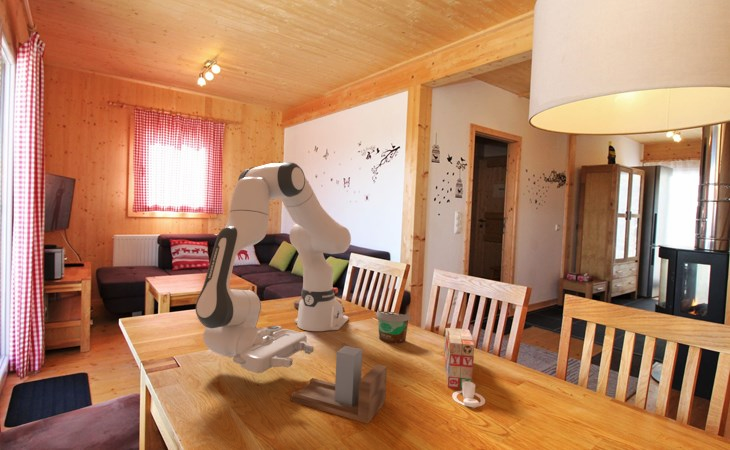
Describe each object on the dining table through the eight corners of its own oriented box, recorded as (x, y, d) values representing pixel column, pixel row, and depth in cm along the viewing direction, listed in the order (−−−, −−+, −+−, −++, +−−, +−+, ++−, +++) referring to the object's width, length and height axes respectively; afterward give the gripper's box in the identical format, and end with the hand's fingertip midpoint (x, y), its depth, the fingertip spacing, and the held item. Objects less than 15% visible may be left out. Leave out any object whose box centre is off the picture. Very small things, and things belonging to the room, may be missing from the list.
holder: (313, 384, 103) (314, 350, 102) (384, 403, 95) (386, 366, 94) (290, 401, 94) (292, 364, 93) (368, 423, 86) (369, 383, 85)
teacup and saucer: (478, 413, 93) (479, 396, 92) (446, 403, 97) (447, 386, 97) (488, 398, 100) (489, 383, 100) (458, 389, 104) (459, 374, 104)
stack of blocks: (443, 356, 125) (445, 318, 125) (463, 358, 124) (466, 320, 124) (447, 387, 104) (450, 341, 103) (472, 390, 103) (474, 344, 103)
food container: (369, 340, 136) (371, 312, 136) (376, 335, 142) (377, 308, 141) (404, 347, 132) (405, 317, 131) (409, 341, 138) (410, 313, 137)
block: (343, 394, 96) (345, 345, 96) (360, 398, 95) (362, 349, 94) (334, 402, 92) (336, 351, 92) (351, 407, 90) (354, 355, 90)
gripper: (228, 346, 94) (276, 358, 89) (280, 323, 113) (323, 332, 107) (228, 372, 95) (275, 385, 89) (280, 345, 113) (322, 355, 108)
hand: (302, 356), depth 98 cm, fingers open, 8 cm apart
